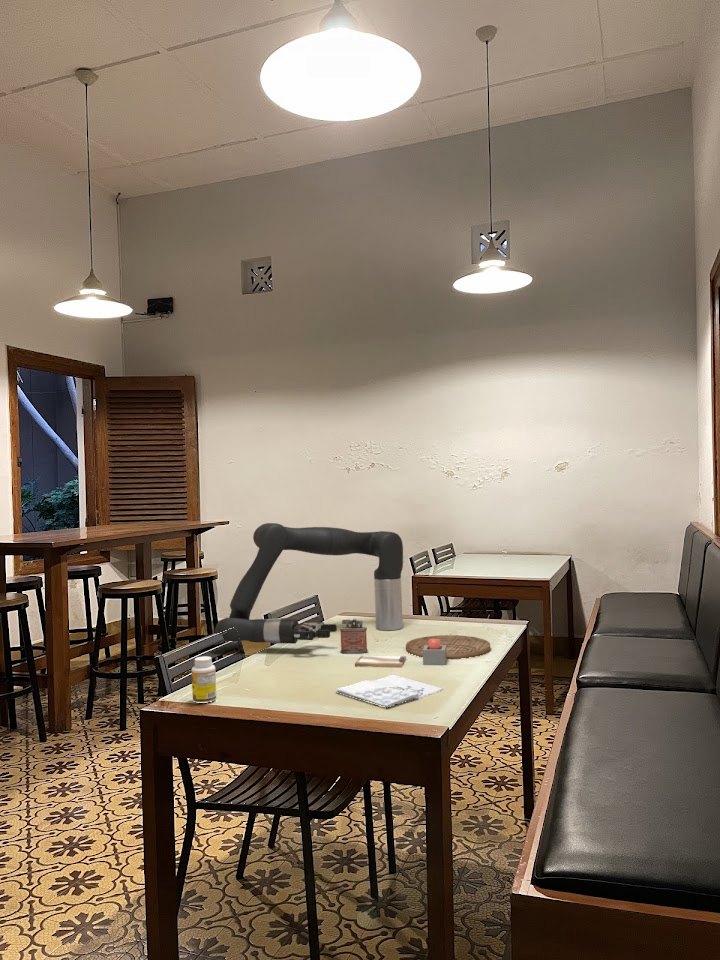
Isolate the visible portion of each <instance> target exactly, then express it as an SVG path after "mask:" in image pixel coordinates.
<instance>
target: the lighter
mask: <svg viewBox="0 0 720 960" xmlns="http://www.w3.org/2000/svg"><path fill="white" fill-rule="evenodd" d="M363 624H364V623H363V619H356V618H352V619H342V620H341V625H345V626H341V627H339V631H340V654H341V653H342V654H341V655H365V654H368V652H369V651H368V643H367V641H368V639H367V631H368V630H367V629H368V628H367V626H363ZM364 653H365V654H364Z"/></svg>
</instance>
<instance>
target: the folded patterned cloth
mask: <svg viewBox="0 0 720 960" xmlns="http://www.w3.org/2000/svg"><path fill="white" fill-rule="evenodd" d="M389 687H392V688H389ZM393 688H397V689H393ZM398 689H402V690H398ZM403 690H404V691H403ZM441 690H443V691H444V688H443V687H438V686H435V685H432V684H428V683H424V682H420V681H417V680H414V679H409V678H407V677H402V676H398V675H396V674H394V673H392V674H390V675H387V676H385V677H382V678H378V679H377V678H376V679H374V680H369V679H365V680H362V681H359V682H356V683H353V684H350V685H347V686H342V687H336V688H335V691H334V693H335V692H338V693H341V694H344V695H347V696H351V697H354V698H357V699H361V700H365V701H369V702H372V703H375V704H378V705H381V706H385V707H390V706H393V705H395V704H399V703H402V702H405V701H408V702H410V701H409V700H412V701H414V700H413V699H415V700H417V699H416V698H421V699H422V698H423V697H422V696H425V697H427V696H426V695H428V696H430V695H429V694H431V695H433V694H432V693H434V694H436V693H435V692H437V693H439V692H438V691H440V692H442V691H441ZM344 695H343V696H344ZM347 696H346V697H347ZM405 703H406V702H405ZM402 704H403V703H402ZM399 705H400V704H399ZM393 707H394V706H393ZM390 708H391V707H390Z"/></svg>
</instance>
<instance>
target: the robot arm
mask: <svg viewBox="0 0 720 960" xmlns="http://www.w3.org/2000/svg"><path fill="white" fill-rule="evenodd" d="M252 539H253V542H254V544H255V545H256V547H257V548H258V550H257V554H256V557H255V558H254V560H253V562H252V564H251V565H250V567H249V568H248V570H247V571H246V572H245V574H244V576H242V578H241V580H240V581H239V583H238V585H237V588H236V589H235V592H234V593H233V596H232V598H231V601H230V603H229V607H230V610H231V611H230V613H229V617H225V618H222V619H221V620H219V621H218V622H217V624H216V626H215V628H214V629H215V635H216V634H217V633H220V632H222V633H220V634H223V633H225V632H227V633H225V634H223V635H222V636H223V638H224V640H225V641H239V642H241V641H244V642H245V641H246V642H247V641H248V642H251V643H266V644H291V645H292V644H296V643H297V642H298V641H314V640H316V639H329V638H330V637H331V632H332V633H334V632H335V633H336V632H337V631H338V629H337V627H338V626H337V624H336V623H325V622H323V621H321V622H320V621H319V622H318V621H316V622H312V621H307V622H303V624H300V623H299V621H298V619H297V618H295V617H289V618H287V617H284V618H283V617H278V618H277V617H275V618H255V619H250V617H251V612H252V610H253V608H254V607H255V603H256V602H257V599H258V596H259V595H260V592H261V590H262V589H263V588H262V587H263V585H264V583H265V581H266V580H267V577H268V576H269V574H270V572H271V570H272V568H273V566H274V565H275V563H276V562H277V560H278V558H279V557H280V556H281V554H282V552H283V551H298V552H304V553H310V554H313V555H320V556H346V555H351V554H359V555H362V554H363V555H367V556H372V557H377V558H378V567H377V568H376V569H375V570H374V571H373V572H374V573H373V581H374V583H373V584H374V608H375V609H374V611H375V629H376V630H379V631H395V630H397V631H398V630H400V629H403V599H402V598H403V597H402V594H403V593H402V571H403V568H404V545H403V540H402V538H401V537H400V534H398V533H396V532H394V531H385V530H384V531H383V530H382V531H380V530H379V531H369V532H368V531H365V532H364V531H363V532H360V531H359V532H358V531H353V530H350V529H346V528H338V527H327V526H312V527H311V526H309V527H307V526H306V527H289V526H284V525H283V524H280V523H277V522H276V523H275V522H267V523H262V524H261V525H259V526H258V527H257V528H256V529H255V530H254V533H253V536H252ZM233 627H234V628H236V629H237V630H236V629H233ZM229 628H232V629H229ZM228 629H229V630H228ZM225 630H227V631H225ZM223 631H225V632H223ZM237 631H238V632H237ZM238 634H239V635H238ZM239 638H240V639H239ZM225 641H224V642H225Z"/></svg>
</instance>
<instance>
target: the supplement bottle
mask: <svg viewBox="0 0 720 960" xmlns="http://www.w3.org/2000/svg"><path fill="white" fill-rule="evenodd" d="M216 674H217V673H216V666H215V665H214V664H213V661H212V657H211V656H205V655H204V656H198V657H195V658H194V666H193V667H192V668H191V689H192V690H191V691H192V692H191V693H192V702H193V701H195V702H210V701H214V700H215V701H216V699H217V675H216ZM215 701H214V702H215ZM195 702H194V703H195Z"/></svg>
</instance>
